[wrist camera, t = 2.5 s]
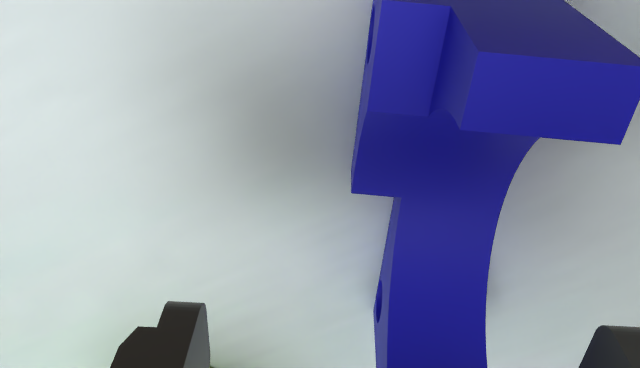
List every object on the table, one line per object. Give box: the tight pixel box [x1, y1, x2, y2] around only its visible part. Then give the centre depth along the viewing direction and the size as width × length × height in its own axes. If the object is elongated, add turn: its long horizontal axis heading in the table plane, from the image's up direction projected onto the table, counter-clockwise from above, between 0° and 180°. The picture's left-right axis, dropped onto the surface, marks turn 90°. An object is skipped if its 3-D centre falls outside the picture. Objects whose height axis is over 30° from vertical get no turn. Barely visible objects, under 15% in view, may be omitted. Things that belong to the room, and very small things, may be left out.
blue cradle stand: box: [351, 0, 640, 368], centre depth 15 cm, size 12×4×6 cm, turn 176°
